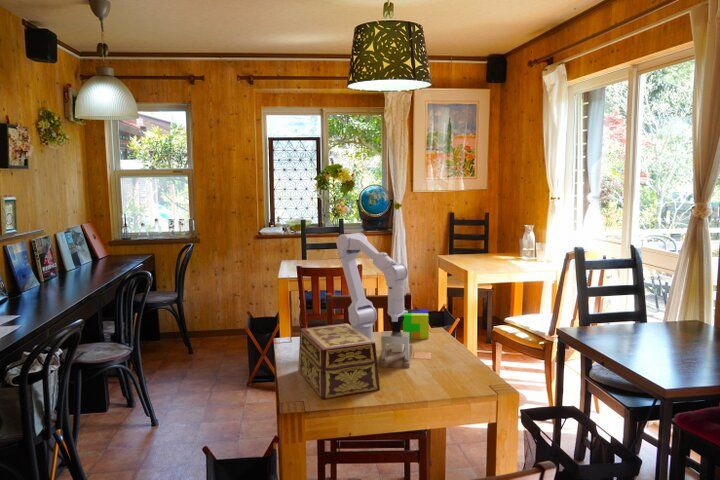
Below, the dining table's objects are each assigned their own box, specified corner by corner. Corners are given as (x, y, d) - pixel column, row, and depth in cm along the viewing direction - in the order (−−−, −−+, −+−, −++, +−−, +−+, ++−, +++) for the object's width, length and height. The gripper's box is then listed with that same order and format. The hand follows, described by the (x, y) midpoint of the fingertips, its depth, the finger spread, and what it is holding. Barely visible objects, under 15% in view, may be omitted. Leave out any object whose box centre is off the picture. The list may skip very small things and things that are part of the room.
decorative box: (297, 370, 188) (296, 327, 186) (349, 363, 195) (348, 321, 193) (322, 400, 163) (320, 351, 161) (380, 390, 169) (379, 343, 168)
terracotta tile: (413, 360, 196) (413, 358, 196) (414, 353, 203) (414, 352, 203) (430, 360, 195) (430, 358, 195) (431, 354, 202) (431, 352, 202)
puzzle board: (379, 368, 188) (379, 362, 188) (385, 349, 208) (385, 344, 208) (409, 369, 187) (409, 363, 187) (412, 350, 207) (412, 345, 206)
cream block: (391, 355, 200) (391, 336, 199) (392, 352, 204) (392, 333, 203) (402, 356, 199) (402, 337, 198) (403, 352, 203) (403, 333, 202)
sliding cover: (381, 360, 190) (381, 336, 189) (383, 354, 196) (383, 331, 195) (408, 360, 189) (408, 336, 188) (409, 355, 195) (409, 332, 194)
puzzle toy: (427, 333, 230) (427, 309, 229) (428, 340, 220) (428, 315, 219) (403, 332, 231) (403, 309, 230) (403, 339, 221) (403, 315, 220)
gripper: (406, 303, 187) (406, 342, 188) (408, 294, 201) (408, 331, 203) (385, 303, 188) (386, 342, 189) (389, 294, 202) (389, 330, 204)
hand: (396, 336), depth 196 cm, fingers closed
